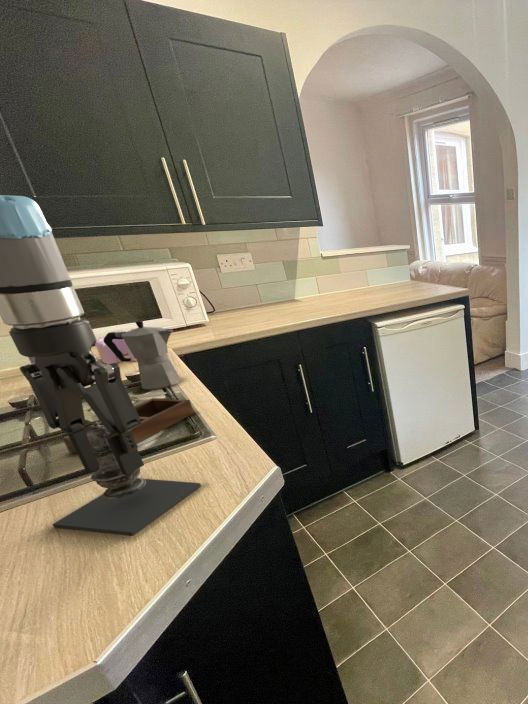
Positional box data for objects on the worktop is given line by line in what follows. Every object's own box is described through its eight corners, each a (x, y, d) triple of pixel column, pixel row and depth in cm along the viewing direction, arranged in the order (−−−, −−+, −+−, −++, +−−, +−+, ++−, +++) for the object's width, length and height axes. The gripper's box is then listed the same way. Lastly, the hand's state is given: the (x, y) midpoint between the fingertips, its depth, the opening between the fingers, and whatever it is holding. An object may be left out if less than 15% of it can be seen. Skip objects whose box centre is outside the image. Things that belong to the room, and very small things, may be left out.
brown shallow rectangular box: (69, 453, 83) (62, 438, 82) (158, 411, 100) (152, 398, 99) (112, 456, 82) (105, 440, 80) (194, 413, 99) (189, 399, 98)
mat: (53, 527, 63) (51, 524, 63) (131, 480, 74) (130, 477, 74) (132, 535, 61) (131, 532, 61) (201, 486, 72) (200, 483, 72)
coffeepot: (194, 374, 124) (174, 314, 117) (184, 385, 115) (161, 322, 109) (131, 382, 119) (106, 320, 112) (115, 394, 111) (87, 328, 104)
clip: (111, 351, 148) (103, 332, 146) (155, 345, 154) (148, 326, 152) (97, 366, 133) (88, 345, 130) (147, 359, 139) (139, 339, 136)
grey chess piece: (139, 474, 70) (111, 409, 65) (155, 484, 67) (127, 417, 62) (94, 493, 65) (60, 425, 61) (108, 505, 62) (74, 434, 58)
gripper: (135, 315, 58) (189, 458, 67) (25, 314, 61) (90, 452, 70) (76, 330, 51) (144, 487, 60) (-46, 328, 54) (37, 478, 63)
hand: (115, 468), depth 65 cm, fingers closed on grey chess piece, 6 cm apart
